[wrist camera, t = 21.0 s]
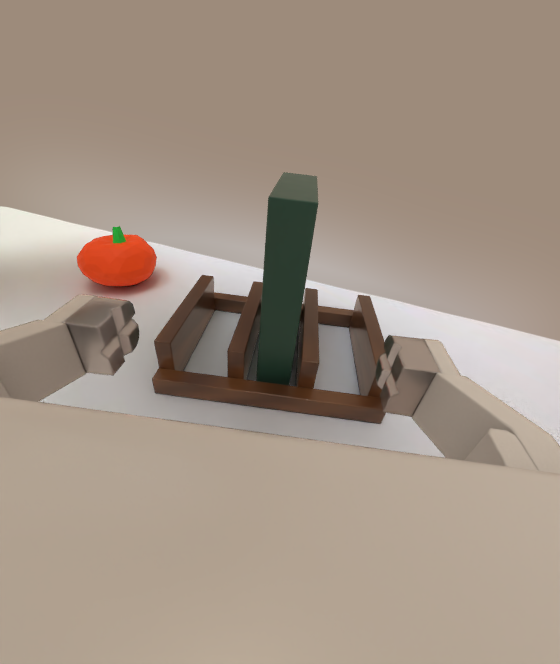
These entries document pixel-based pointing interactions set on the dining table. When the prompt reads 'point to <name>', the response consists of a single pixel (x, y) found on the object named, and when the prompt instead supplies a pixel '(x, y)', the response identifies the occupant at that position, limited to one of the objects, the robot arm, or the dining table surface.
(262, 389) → the book rack
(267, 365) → the book
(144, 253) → the pumpkin
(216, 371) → the dining table surface
